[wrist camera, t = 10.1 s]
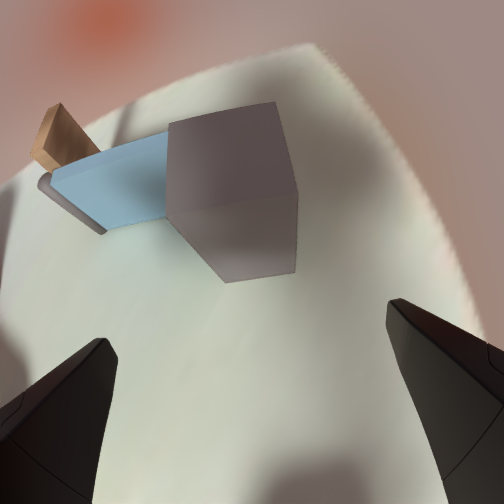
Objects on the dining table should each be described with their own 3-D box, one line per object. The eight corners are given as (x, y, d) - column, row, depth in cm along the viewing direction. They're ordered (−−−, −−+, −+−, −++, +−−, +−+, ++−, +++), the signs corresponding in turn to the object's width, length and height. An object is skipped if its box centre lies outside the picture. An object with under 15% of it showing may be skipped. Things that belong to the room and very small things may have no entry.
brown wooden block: (110, 210, 25) (42, 148, 15) (98, 214, 25) (29, 155, 15) (115, 168, 26) (60, 102, 17) (104, 172, 26) (47, 109, 17)
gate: (96, 235, 24) (35, 191, 16) (97, 221, 25) (40, 175, 17) (259, 203, 23) (242, 130, 15) (256, 188, 23) (240, 113, 16)
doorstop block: (295, 272, 21) (298, 192, 11) (225, 283, 21) (165, 216, 11) (283, 209, 23) (275, 101, 12) (219, 220, 23) (168, 123, 13)
